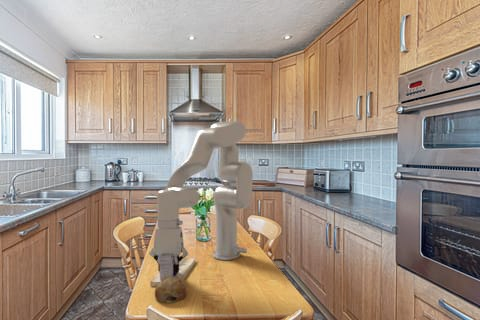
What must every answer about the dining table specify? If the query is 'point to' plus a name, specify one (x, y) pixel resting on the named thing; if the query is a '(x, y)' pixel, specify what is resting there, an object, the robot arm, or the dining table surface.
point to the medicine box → (166, 266)
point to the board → (183, 271)
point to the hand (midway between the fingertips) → (168, 273)
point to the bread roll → (170, 290)
